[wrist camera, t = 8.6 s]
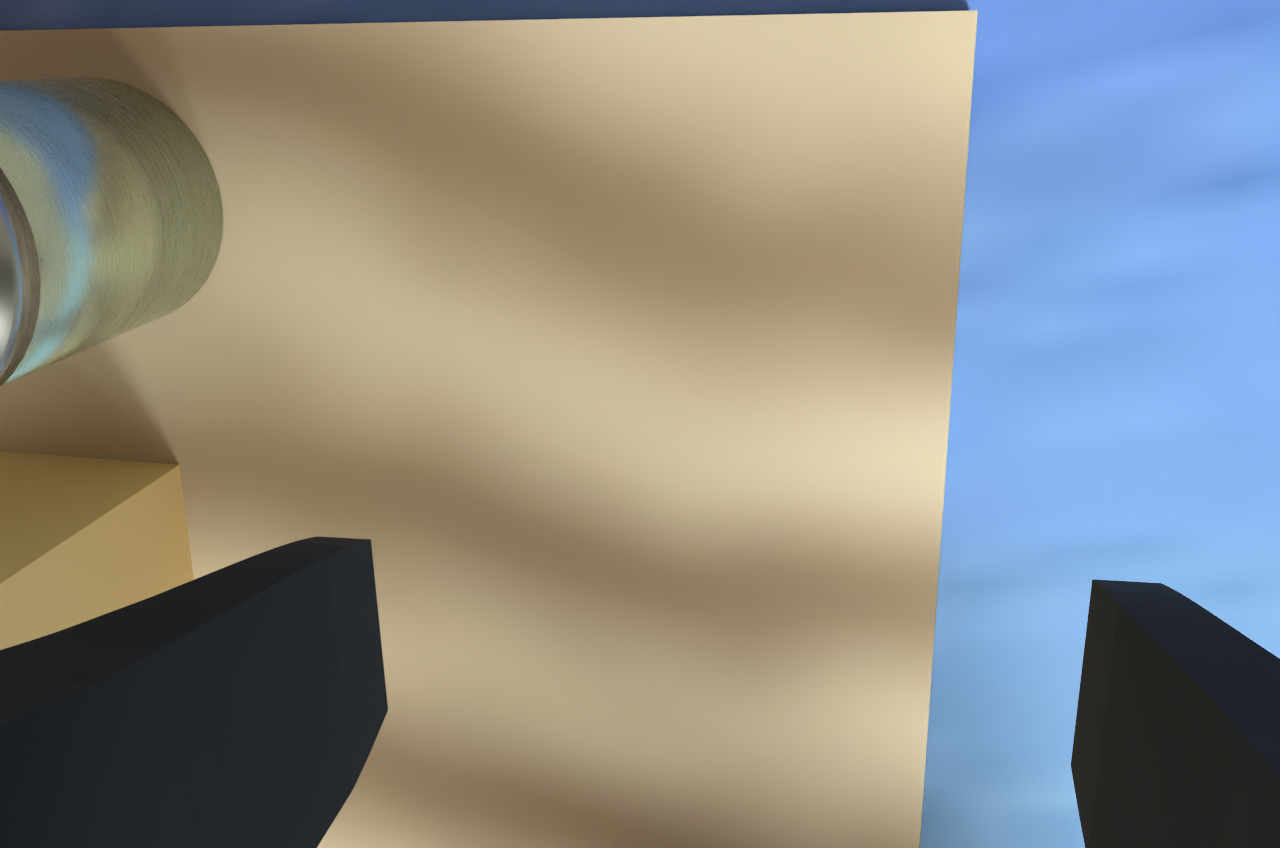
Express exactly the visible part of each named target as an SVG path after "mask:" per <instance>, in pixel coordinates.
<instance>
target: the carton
mask: <svg viewBox="0 0 1280 848" xmlns="http://www.w3.org/2000/svg"><path fill="white" fill-rule="evenodd" d="M192 580H194V577H193V569H192V561H191V553H190V545H189V537H188V529H187V521H186V513H185V505H184V497H183V489H182V481H181V473H180V465H176V464H163V463H150V462H137V461H124V460H111V459H98V458H85V457H72V456H59V455H46V454H33V453H20V452H7V451H0V650H2V649H6V648H9V647H12V646H15V645H18V644H21V643H25V642H28V641H31V640H34V639H37V638H40V637H43V636H46V635H49V634H52V633H55V632H58V631H61V630H64V629H66V628H69V627H72V626H74V625H77V624H80V623H82V622H85V621H88V620H91V619H93V618H96V617H99V616H101V615H104V614H107V613H109V612H112V611H115V610H117V609H120V608H123V607H126V606H128V605H131V604H134V603H136V602H139V601H142V600H144V599H147V598H150V597H152V596H155V595H157V594H160V593H162V592H165V591H167V590H170V589H172V588H175V587H177V586H180V585H182V584H185V583H187V582H189V581H192Z"/></svg>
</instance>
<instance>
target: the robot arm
mask: <svg viewBox="0 0 1280 848" xmlns="http://www.w3.org/2000/svg"><path fill="white" fill-rule="evenodd" d="M387 711H388V704H387V694H386V684H385V674H384V664H383V655H382V645H381V635H380V625H379V615H378V605H377V595H376V585H375V575H374V565H373V556H372V546H371V539H355V538H337V537H319V536H316V537H311V538H307V539H302V540H298V541H295V542H291V543H288V544H285V545H282V546H279V547H276V548H273V549H271V550H268V551H265V552H262V553H260V554H257V555H255V556H252V557H249V558H247V559H244V560H242V561H239V562H237V563H234V564H232V565H229V566H227V567H224V568H222V569H219V570H217V571H214V572H212V573H209V574H207V575H204V576H202V577H199V578H197V579H194V580H192V581H189V582H187V583H185V584H182V585H180V586H177V587H175V588H172V589H170V590H167V591H165V592H162V593H160V594H157V595H155V596H152V597H150V598H147V599H144V600H142V601H139V602H136V603H134V604H131V605H128V606H126V607H123V608H120V609H117V610H115V611H112V612H109V613H107V614H104V615H101V616H99V617H96V618H93V619H91V620H88V621H85V622H82V623H80V624H77V625H74V626H72V627H69V628H66V629H64V630H61V631H58V632H55V633H52V634H49V635H46V636H43V637H40V638H37V639H34V640H31V641H28V642H25V643H21V644H18V645H15V646H12V647H9V648H6V649H2V650H0V848H317V847H318V845H319V844H320V842H321V840H322V839H323V837H324V836H325V834H326V832H327V831H328V829H329V828H330V826H331V824H332V823H333V821H334V820H335V818H336V817H337V815H338V813H339V812H340V810H341V809H342V807H343V805H344V804H345V802H346V800H347V799H348V797H349V795H350V794H351V792H352V790H353V789H354V787H355V784H356V782H357V780H358V778H359V776H360V774H361V772H362V769H363V767H364V765H365V763H366V761H367V759H368V757H369V754H370V752H371V750H372V747H373V745H374V743H375V740H376V738H377V735H378V733H379V731H380V728H381V726H382V723H383V721H384V719H385V716H386V714H387ZM1071 768H1072V774H1073V780H1074V786H1075V792H1076V798H1077V804H1078V810H1079V816H1080V821H1081V827H1082V832H1083V837H1084V843H1085V848H1280V659H1279V658H1277V657H1276V656H1274V655H1273V654H1271V653H1270V652H1268V651H1267V650H1265V649H1264V648H1262V647H1261V646H1259V645H1258V644H1256V643H1255V642H1253V641H1252V640H1250V639H1249V638H1247V637H1246V636H1244V635H1243V634H1241V633H1240V632H1239V631H1237V630H1236V629H1234V628H1233V627H1231V626H1230V625H1228V624H1227V623H1225V622H1224V621H1222V620H1221V619H1219V618H1218V617H1216V616H1215V615H1213V614H1212V613H1210V612H1209V611H1207V610H1206V609H1204V608H1203V607H1201V606H1199V605H1198V604H1196V603H1195V602H1193V601H1192V600H1190V599H1189V598H1187V597H1185V596H1184V595H1182V594H1180V593H1179V592H1177V591H1175V590H1173V589H1171V588H1169V587H1167V586H1165V585H1163V584H1161V583H1144V582H1126V581H1108V580H1092V589H1091V597H1090V606H1089V614H1088V623H1087V632H1086V640H1085V649H1084V657H1083V666H1082V675H1081V683H1080V692H1079V701H1078V709H1077V718H1076V726H1075V735H1074V744H1073V752H1072V761H1071Z"/></svg>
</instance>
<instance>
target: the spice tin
mask: <svg viewBox="0 0 1280 848" xmlns="http://www.w3.org/2000/svg"><path fill="white" fill-rule="evenodd" d="M222 232H223V208H222V200H221V194H220V189H219V185H218V182H217V179H216V176H215V172H214V170H213V168H212V165H211V163H210V161H209V159H208V156H207V155H206V153H205V151H204V149H203V148H202V146H201V144H200V143H199V141H198V139H197V138H196V137H195V135H194V134H193V133H192V131H191V130H190V129H189V127H188V126H187V125H186V124H185V123H184V122H183V121H182V120H181V119H180V118H179V117H178V116H177V115H176V114H175V113H174V112H173V111H172V110H171V109H169V108H168V107H167V106H166V105H165V104H163V103H162V102H161V101H159V100H157V99H156V98H154V97H153V96H151V95H150V94H148V93H146V92H144V91H142V90H140V89H138V88H136V87H134V86H131V85H128V84H125V83H122V82H119V81H115V80H110V79H105V78H94V77H76V78H51V79H26V80H0V387H1V386H2V385H5V384H7V383H9V382H12V381H14V380H16V379H19V378H21V377H23V376H26V375H28V374H30V373H33V372H35V371H37V370H40V369H42V368H44V367H47V366H49V365H51V364H54V363H56V362H58V361H61V360H63V359H65V358H68V357H70V356H72V355H75V354H77V353H79V352H82V351H84V350H86V349H89V348H91V347H94V346H96V345H98V344H101V343H103V342H105V341H108V340H110V339H112V338H115V337H117V336H119V335H122V334H124V333H126V332H129V331H131V330H133V329H136V328H138V327H140V326H143V325H145V324H147V323H150V322H152V321H154V320H157V319H159V318H161V317H164V316H166V315H168V314H170V313H171V312H173V311H175V310H177V309H179V308H180V307H181V306H183V305H184V304H185V303H187V302H188V301H189V300H190V299H191V298H192V297H193V296H194V295H195V294H196V293H197V292H198V291H199V290H200V288H201V287H202V286H203V284H204V283H205V281H206V280H207V279H208V277H209V275H210V273H211V271H212V269H213V267H214V265H215V262H216V259H217V256H218V253H219V250H220V245H221V240H222Z"/></svg>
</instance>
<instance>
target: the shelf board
mask: <svg viewBox="0 0 1280 848" xmlns="http://www.w3.org/2000/svg"><path fill="white" fill-rule="evenodd" d="M977 12H978V10H975V11H927V12H878V13H829V14H781V15H732V16H683V17H635V18H586V19H538V20H489V21H440V22H392V23H343V24H294V25H246V26H197V27H148V28H100V29H51V30H2V31H0V80H26V79H51V78H76V77H94V78H105V79H110V80H115V81H119V82H122V83H125V84H128V85H131V86H134V87H136V88H138V89H140V90H142V91H144V92H146V93H148V94H150V95H151V96H153V97H154V98H156V99H157V100H159V101H161V102H162V103H163V104H165V105H166V106H167V107H168V108H169V109H171V110H172V111H173V112H174V113H175V114H176V115H177V116H178V117H179V118H180V119H181V120H182V121H183V122H184V123H185V124H186V125H187V126H188V127H189V129H190V130H191V131H192V133H193V134H194V135H195V137H196V138H197V139H198V141H199V143H200V144H201V146H202V148H203V149H204V151H205V153H206V155H207V156H208V159H209V161H210V163H211V165H212V168H213V170H214V172H215V176H216V179H217V182H218V185H219V189H220V194H221V200H222V208H223V232H222V240H221V245H220V250H219V253H218V256H217V259H216V262H215V265H214V267H213V269H212V271H211V273H210V275H209V277H208V279H207V280H206V281H205V283H204V284H203V286H202V287H201V288H200V290H199V291H198V292H197V293H196V294H195V295H194V296H193V297H192V298H191V299H190V300H189V301H188V302H187V303H185V304H184V305H183V306H181V307H180V308H179V309H177V310H175V311H173V312H171V313H170V314H168V315H166V316H164V317H161V318H159V319H157V320H154V321H152V322H150V323H147V324H145V325H143V326H140V327H138V328H136V329H133V330H131V331H129V332H126V333H124V334H122V335H119V336H117V337H115V338H112V339H110V340H108V341H105V342H103V343H101V344H98V345H96V346H94V347H91V348H89V349H86V350H84V351H82V352H79V353H77V354H75V355H72V356H70V357H68V358H65V359H63V360H61V361H58V362H56V363H54V364H51V365H49V366H47V367H44V368H42V369H40V370H37V371H35V372H33V373H30V374H28V375H26V376H23V377H21V378H19V379H16V380H14V381H12V382H9V383H7V384H5V385H2V386H1V387H0V451H7V452H20V453H33V454H46V455H59V456H72V457H85V458H98V459H111V460H124V461H137V462H150V463H163V464H176V465H180V473H181V481H182V489H183V497H184V505H185V513H186V521H187V529H188V537H189V545H190V553H191V561H192V569H193V577H194V579H197V578H199V577H202V576H204V575H207V574H209V573H212V572H214V571H217V570H219V569H222V568H224V567H227V566H229V565H232V564H234V563H237V562H239V561H242V560H244V559H247V558H249V557H252V556H255V555H257V554H260V553H262V552H265V551H268V550H271V549H273V548H276V547H279V546H282V545H285V544H288V543H291V542H295V541H298V540H302V539H307V538H311V537H316V536H319V537H337V538H355V539H371V546H372V556H373V565H374V575H375V585H376V595H377V605H378V615H379V625H380V635H381V645H382V655H383V664H384V674H385V684H386V694H387V704H388V711H387V714H386V716H385V719H384V721H383V723H382V726H381V728H380V731H379V733H378V735H377V738H376V740H375V743H374V745H373V747H372V750H371V752H370V754H369V757H368V759H367V761H366V763H365V765H364V767H363V769H362V772H361V774H360V776H359V778H358V780H357V782H356V784H355V787H354V789H353V790H352V792H351V794H350V795H349V797H348V799H347V800H346V802H345V804H344V805H343V807H342V809H341V810H340V812H339V813H338V815H337V817H336V818H335V820H334V821H333V823H332V824H331V826H330V828H329V829H328V831H327V832H326V834H325V836H324V837H323V839H322V840H321V842H320V844H319V845H318V847H317V848H920V834H921V820H922V805H923V791H924V776H925V762H926V747H927V733H928V719H929V704H930V690H931V675H932V661H933V646H934V632H935V618H936V603H937V589H938V574H939V560H940V546H941V531H942V517H943V502H944V488H945V473H946V459H947V445H948V430H949V416H950V401H951V387H952V372H953V358H954V344H955V329H956V315H957V300H958V286H959V271H960V257H961V243H962V228H963V214H964V199H965V185H966V170H967V156H968V142H969V127H970V113H971V98H972V84H973V69H974V55H975V41H976V26H977Z"/></svg>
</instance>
